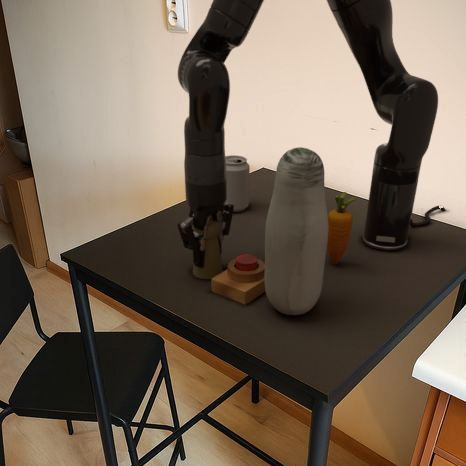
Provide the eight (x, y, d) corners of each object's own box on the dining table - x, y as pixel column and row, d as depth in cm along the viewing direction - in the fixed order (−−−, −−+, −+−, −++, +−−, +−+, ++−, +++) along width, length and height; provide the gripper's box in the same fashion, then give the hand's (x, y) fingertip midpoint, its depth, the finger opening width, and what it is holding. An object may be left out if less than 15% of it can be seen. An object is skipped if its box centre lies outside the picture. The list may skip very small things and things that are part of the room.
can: (249, 213, 141) (249, 163, 134) (217, 213, 141) (217, 163, 134) (248, 202, 147) (249, 153, 140) (218, 201, 147) (218, 153, 140)
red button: (231, 268, 109) (231, 259, 108) (244, 260, 112) (244, 252, 111) (248, 274, 107) (248, 265, 106) (261, 266, 110) (261, 258, 109)
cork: (198, 281, 114) (196, 228, 107) (188, 268, 118) (185, 216, 112) (227, 275, 116) (227, 222, 109) (216, 262, 120) (215, 211, 114)
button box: (211, 291, 110) (210, 269, 108) (247, 270, 117) (247, 249, 115) (245, 305, 106) (245, 283, 104) (280, 282, 113) (281, 260, 111)
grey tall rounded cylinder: (328, 320, 102) (345, 157, 86) (271, 327, 100) (278, 162, 84) (309, 292, 110) (322, 139, 94) (256, 298, 108) (260, 143, 92)
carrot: (332, 256, 122) (340, 186, 114) (352, 264, 119) (361, 192, 111) (317, 264, 119) (324, 192, 111) (337, 272, 117) (345, 199, 108)
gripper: (194, 191, 99) (198, 281, 109) (246, 170, 108) (245, 254, 118) (162, 182, 103) (168, 269, 113) (215, 162, 112) (216, 244, 122)
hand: (207, 261), depth 115 cm, fingers open, 4 cm apart
